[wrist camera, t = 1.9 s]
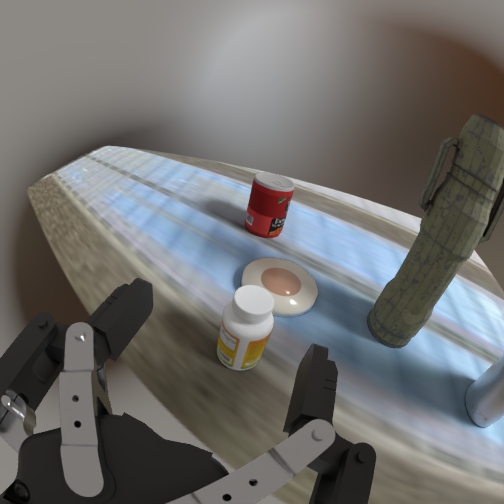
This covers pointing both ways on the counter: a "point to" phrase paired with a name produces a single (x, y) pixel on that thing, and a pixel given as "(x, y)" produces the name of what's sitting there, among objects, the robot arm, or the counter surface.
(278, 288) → the coaster
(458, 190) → the thermos
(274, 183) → the canned food
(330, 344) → the counter surface
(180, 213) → the counter surface
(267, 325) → the supplement bottle
